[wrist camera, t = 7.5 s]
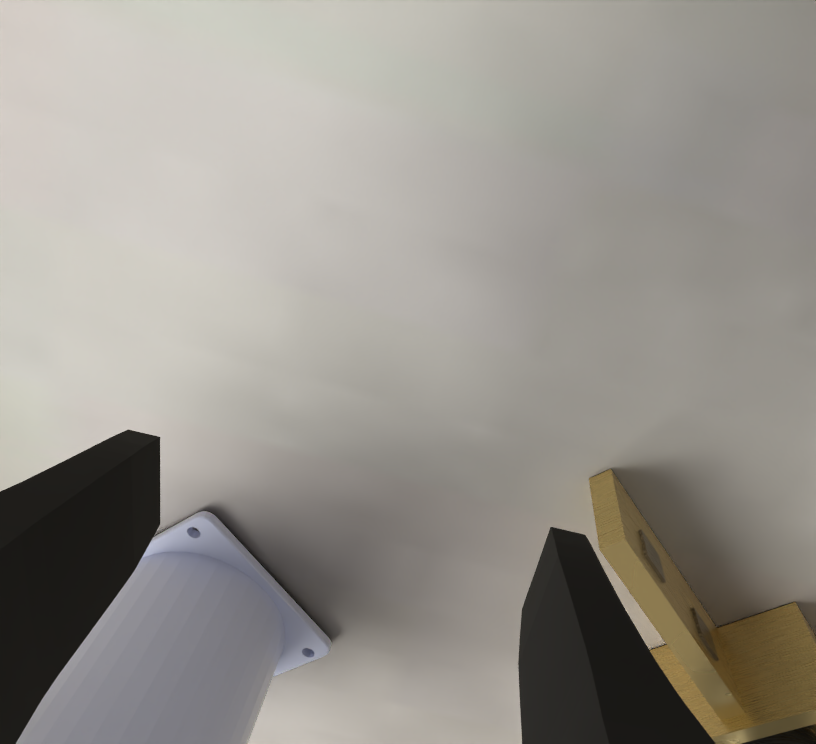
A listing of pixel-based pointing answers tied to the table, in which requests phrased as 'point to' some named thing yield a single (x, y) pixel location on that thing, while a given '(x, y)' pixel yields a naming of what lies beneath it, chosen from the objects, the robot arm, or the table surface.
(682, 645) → the gold square socket frame
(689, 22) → the table surface
